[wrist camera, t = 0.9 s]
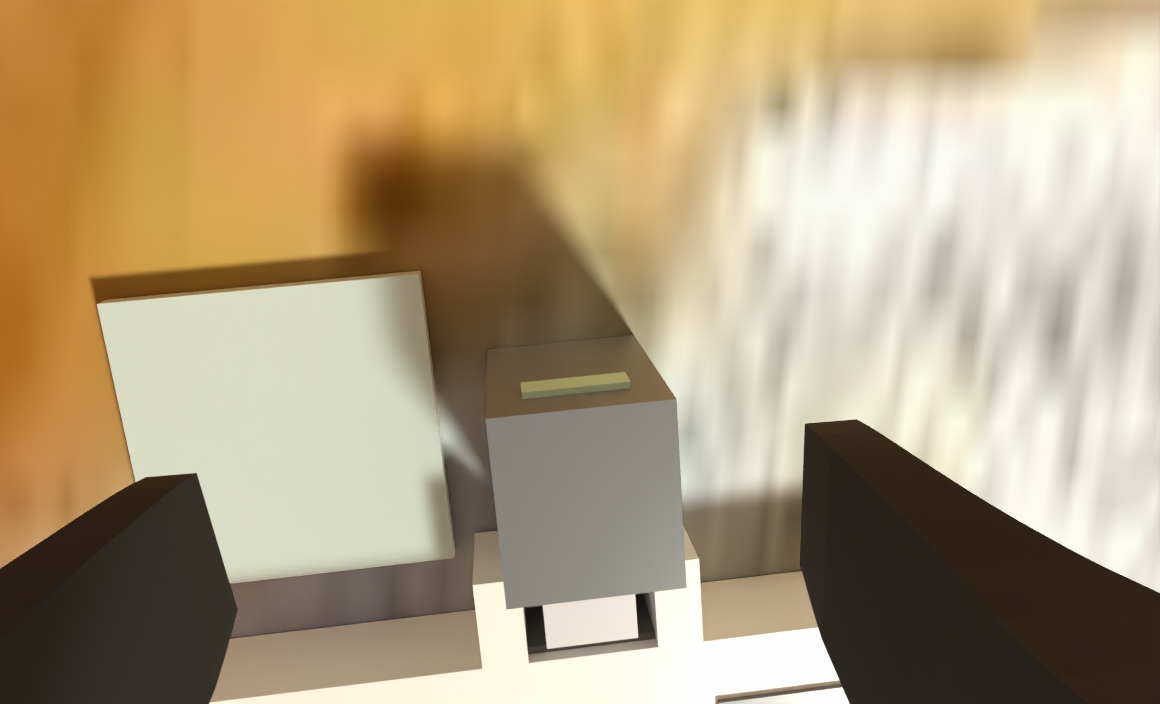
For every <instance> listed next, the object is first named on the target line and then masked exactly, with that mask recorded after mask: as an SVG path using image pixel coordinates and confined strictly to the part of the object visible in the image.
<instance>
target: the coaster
mask: <svg viewBox="0 0 1160 704" xmlns="http://www.w3.org/2000/svg"><path fill="white" fill-rule="evenodd" d="M97 308H98V312H99V317H100V321H101V326H102V331H103V335H104V340H105V344H106V349H107V353H108V358H109V363H110V367H111V372H112V376H113V381H114V386H115V390H116V395H117V399H118V404H119V409H120V413H121V418H122V422H123V427H124V432H125V436H126V441H127V445H128V450H129V455H130V459H131V464H132V468H133V473H134V477H135V482H137V481H139V480H141V479H143V478H145V477H153V476H166V475H178V474H190V473H197V476H198V479H199V483H200V486H201V489H202V493H203V496H204V499H205V503H206V506H207V509H208V513H209V516H210V519H211V523H212V526H213V529H214V533H215V536H216V539H217V543H218V546H219V549H220V553H221V556H222V559H223V563H224V566H225V570H226V573H227V576H228V580H229V583H230V584H233V583H242V582H250V581H259V580H268V579H277V578H285V577H294V576H303V575H312V574H320V573H329V572H338V571H346V570H355V569H364V568H373V567H381V566H390V565H399V564H408V563H416V562H425V561H434V560H443V559H451V558H454V557H455V542H454V534H453V526H452V518H451V510H450V502H449V494H448V486H447V477H446V469H445V461H444V453H443V445H442V437H441V429H440V421H439V413H438V405H437V397H436V389H435V381H434V373H433V365H432V357H431V349H430V341H429V333H428V325H427V317H426V309H425V301H424V293H423V285H422V277H421V271H411V272H400V273H389V274H378V275H367V276H356V277H345V278H335V279H324V280H313V281H302V282H291V283H280V284H270V285H259V286H248V287H237V288H226V289H215V290H205V291H194V292H183V293H172V294H161V295H150V296H139V297H129V298H118V299H107V300H105V301H102V302H100V303H98V304H97Z"/></svg>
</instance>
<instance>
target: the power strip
mask: <svg viewBox="0 0 1160 704" xmlns="http://www.w3.org/2000/svg"><path fill="white" fill-rule="evenodd" d="M683 531H684V549H685V568H686V586H687V588H682V589H674V590H665V591H657V592H649V593H640V594H635V597H636V612H637V626H638V638H633V639H624V640H616V641H608V642H600V643H592V644H584V645H576V646H568V647H559V648H551V649H547V644H546V635H545V625H544V615H543V605H540V606H532V607H523V608H515V609H506V602H505V593H504V583H503V574H502V565H501V556H500V547H499V538H498V531H489V532H480V533H475V542H474V563H473V584H472V586H473V594H474V602H475V610H468V611H460V612H452V613H443V614H435V615H426V616H418V617H410V618H401V619H393V620H384V621H376V622H367V623H359V624H351V625H342V626H334V627H325V628H317V629H308V630H300V631H292V632H283V633H275V634H266V635H258V636H249V637H241V638H233V639H230V640H229V644H228V648H227V652H226V655H225V658H224V662H223V665H222V668H221V672H220V675H219V678H218V682H217V685H216V688H215V690H214V693H213V695H212V698H211V700H210V702H209V704H849V701H848V699H847V697H846V695H845V692H844V690H843V688H842V685H841V683H840V681H839V678H838V676H837V674H836V671H835V669H834V667H833V665H832V662H831V660H830V658H829V655H828V653H827V650H826V648H825V646H824V643H823V641H822V639H821V635H820V632H819V629H818V626H817V622H816V619H815V616H814V612H813V609H812V606H811V602H810V599H809V595H808V591H807V588H806V584H805V581H804V577H803V573H802V571H797V572H789V573H780V574H772V575H763V576H755V577H747V578H738V579H730V580H721V581H713V582H704V583H700V566H699V557H698V555H697V553H696V551H695V549H694V547H693V545H692V543H691V540H690V538H689V536H688V534H687V532H686V530H685V528H684V526H683Z"/></svg>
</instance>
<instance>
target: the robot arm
mask: <svg viewBox="0 0 1160 704" xmlns="http://www.w3.org/2000/svg"><path fill="white" fill-rule="evenodd" d="M800 566H801V570H802V573H803V577H804V581H805V584H806V588H807V591H808V595H809V599H810V602H811V606H812V609H813V612H814V616H815V619H816V622H817V626H818V629H819V632H820V635H821V639H822V641H823V643H824V646H825V648H826V650H827V653H828V655H829V658H830V660H831V662H832V665H833V667H834V669H835V671H836V674H837V676H838V678H839V681H840V683H841V685H842V688H843V690H844V692H845V695H846V697H847V699H848V701H849V704H1160V593H1158V592H1156V591H1154V590H1152V589H1150V588H1148V587H1145V586H1143V585H1141V584H1139V583H1137V582H1135V581H1133V580H1130V579H1128V578H1126V577H1124V576H1122V575H1120V574H1118V573H1115V572H1113V571H1111V570H1109V569H1107V568H1105V567H1103V566H1101V565H1099V564H1097V563H1095V562H1093V561H1091V560H1089V559H1087V558H1085V557H1083V556H1081V555H1079V554H1077V553H1075V552H1073V551H1072V550H1070V549H1068V548H1066V547H1064V546H1063V545H1061V544H1059V543H1057V542H1055V541H1054V540H1052V539H1050V538H1048V537H1046V536H1044V535H1043V534H1041V533H1039V532H1037V531H1035V530H1034V529H1032V528H1030V527H1028V526H1026V525H1025V524H1023V523H1021V522H1019V521H1018V520H1016V519H1014V518H1013V517H1011V516H1009V515H1007V514H1006V513H1004V512H1002V511H1001V510H999V509H997V508H996V507H994V506H992V505H991V504H989V503H987V502H986V501H984V500H983V499H981V498H979V497H978V496H976V495H974V494H973V493H971V492H970V491H968V490H966V489H965V488H963V487H962V486H960V485H959V484H957V483H955V482H954V481H952V480H951V479H949V478H948V477H946V476H945V475H943V474H941V473H940V472H938V471H937V470H935V469H934V468H932V467H931V466H929V465H928V464H926V463H925V462H923V461H922V460H920V459H919V458H917V457H915V456H914V455H912V454H911V453H909V452H908V451H906V450H905V449H903V448H902V447H900V446H899V445H897V444H896V443H894V442H893V441H891V440H890V439H888V438H886V437H885V436H883V435H882V434H880V433H879V432H877V431H876V430H874V429H872V428H871V427H869V426H867V425H866V424H864V423H862V422H860V421H858V420H845V421H833V422H821V423H808V424H805V437H804V465H803V493H802V520H801V548H800ZM236 613H237V606H236V603H235V600H234V596H233V593H232V590H231V586H230V583H229V580H228V576H227V573H226V570H225V566H224V563H223V559H222V556H221V553H220V549H219V546H218V543H217V539H216V536H215V533H214V529H213V526H212V523H211V519H210V516H209V513H208V509H207V506H206V503H205V499H204V496H203V493H202V489H201V486H200V483H199V479H198V476H197V473H190V474H178V475H166V476H153V477H145V478H143V479H141V480H139V481H137V482H135V483H133V484H131V485H129V486H128V487H126V488H124V489H122V490H121V491H119V492H117V493H116V494H114V495H112V496H111V497H109V498H108V499H106V500H104V501H103V502H101V503H100V504H98V505H96V506H95V507H93V508H92V509H90V510H89V511H87V512H86V513H84V514H83V515H81V516H80V517H78V518H76V519H75V520H73V521H72V522H70V523H69V524H67V525H66V526H64V527H63V528H61V529H60V530H58V531H57V532H55V533H54V534H52V535H51V536H49V537H48V538H46V539H45V540H43V541H42V542H40V543H39V544H37V545H36V546H34V547H33V548H31V549H30V550H28V551H27V552H25V553H24V554H22V555H20V556H19V557H17V558H16V559H14V560H13V561H11V562H10V563H8V564H7V565H5V566H4V567H2V568H1V569H0V704H209V702H210V700H211V698H212V695H213V693H214V690H215V688H216V685H217V682H218V678H219V675H220V672H221V668H222V665H223V662H224V658H225V655H226V652H227V648H228V644H229V640H230V636H231V632H232V629H233V625H234V621H235V617H236Z"/></svg>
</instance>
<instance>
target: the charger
mask: <svg viewBox="0 0 1160 704" xmlns="http://www.w3.org/2000/svg"><path fill="white" fill-rule="evenodd" d="M485 421H486V430H487V439H488V448H489V457H490V466H491V475H492V484H493V493H494V502H495V511H496V520H497V529H498V538H499V547H500V556H501V565H502V574H503V583H504V593H505V602H506V609H515V608H523V607H532V606H540V605H543V615H544V625H545V635H546V644H547V649H551V648H559V647H568V646H576V645H584V644H592V643H600V642H608V641H616V640H624V639H633V638H638V626H637V612H636V597H635V594H640V593H649V592H657V591H665V590H674V589H682V588H687V586H686V568H685V549H684V531H683V512H682V494H681V476H680V457H679V439H678V421H677V402H676V398H675V396H674V395H673V393H672V392H671V390H670V389H669V387H668V386H667V384H666V383H665V381H664V380H663V378H662V377H661V375H660V374H659V372H658V371H657V369H656V368H655V366H654V365H653V363H652V362H651V360H650V359H649V357H648V356H647V354H646V353H645V351H644V350H643V348H642V347H641V345H640V344H639V342H638V341H637V339H636V338H635V336H634V335H626V336H615V337H605V338H595V339H585V340H575V341H565V342H555V343H545V344H534V345H524V346H514V347H504V348H494V349H487V372H486V409H485Z"/></svg>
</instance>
